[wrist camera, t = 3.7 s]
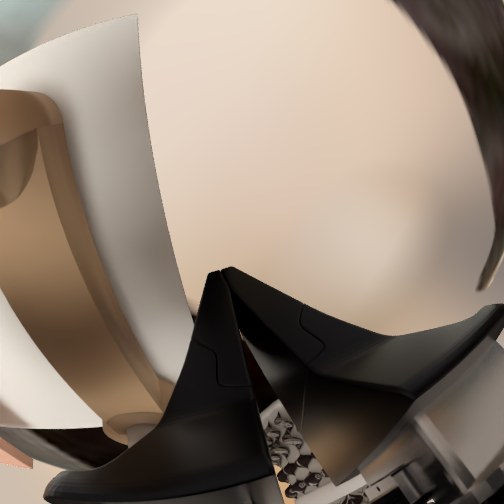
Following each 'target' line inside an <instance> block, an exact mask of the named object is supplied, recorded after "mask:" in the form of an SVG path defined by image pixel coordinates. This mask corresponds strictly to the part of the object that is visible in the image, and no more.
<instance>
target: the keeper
mask: <svg viewBox="0 0 504 504" xmlns="http://www.w3.org/2000/svg"><path fill="white" fill-rule="evenodd" d="M0 463H4V464H8V465H13V466H18V467H24V468H30V469H33V459H32V458H30V457H28V456H27V455H25V454H24V453H22V452H21V451H19V450H18V449H16V448H15V447H14V446H12V445H11V444H9V443H8V442H7V441H5V440H4V439H3V438H1V437H0Z"/></svg>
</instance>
